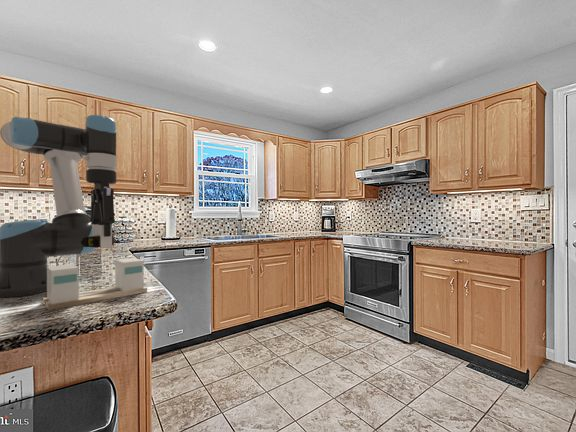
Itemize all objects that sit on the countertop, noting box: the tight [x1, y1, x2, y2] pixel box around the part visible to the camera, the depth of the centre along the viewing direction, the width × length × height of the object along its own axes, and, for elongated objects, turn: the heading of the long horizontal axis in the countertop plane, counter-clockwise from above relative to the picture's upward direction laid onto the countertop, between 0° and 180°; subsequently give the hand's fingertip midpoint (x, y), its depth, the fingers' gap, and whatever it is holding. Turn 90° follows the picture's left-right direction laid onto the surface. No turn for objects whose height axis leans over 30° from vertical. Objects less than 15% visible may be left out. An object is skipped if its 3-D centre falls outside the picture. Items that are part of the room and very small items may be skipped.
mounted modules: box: [46, 257, 145, 304], centre depth 89 cm, size 8×24×9 cm, turn 137°
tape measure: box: [81, 234, 115, 249], centre depth 86 cm, size 7×7×4 cm
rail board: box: [42, 285, 148, 311], centre depth 89 cm, size 10×25×2 cm, turn 136°
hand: (102, 246), depth 86 cm, fingers closed on tape measure, 8 cm apart
